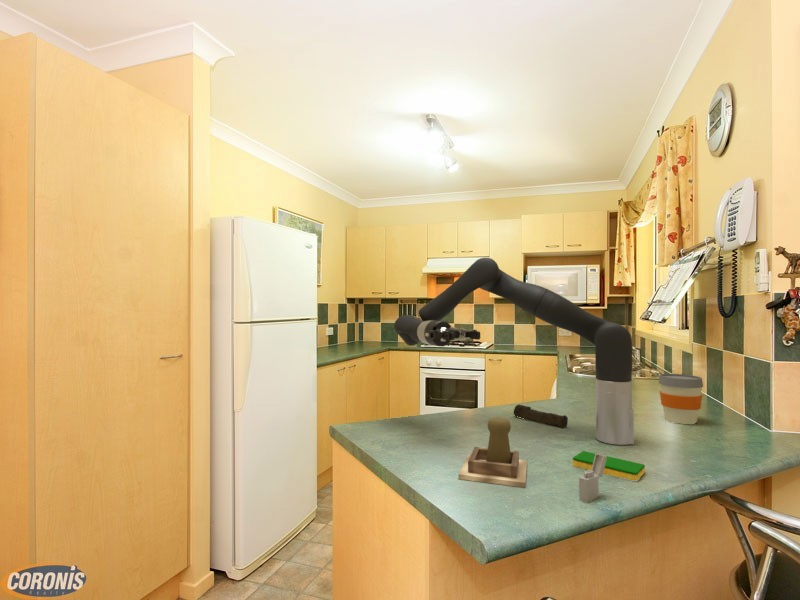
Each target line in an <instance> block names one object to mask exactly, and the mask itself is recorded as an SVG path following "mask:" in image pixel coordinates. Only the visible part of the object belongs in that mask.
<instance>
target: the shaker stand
mask: <svg viewBox="0 0 800 600" xmlns="http://www.w3.org/2000/svg"><path fill="white" fill-rule="evenodd" d="M487 451H488V447H481V446H479V447H478V446H474V447H473V450H472V451H471V454H470V453H468V454H467V456H466V458H465V461H464V462H463V465H462V466H461V469H460V470H459V473H458V480H462V481H464V480H465V481H473V482H479V483H486V484H487V483H488V484H493V485H494V484H496V485H502V486H510V487H517V488H526V482H527V472H528V471H527V469H528V467H527V466H528V460H526V459H520V452H519V451H518V450H510V453H511V460H512V463H511V464H506V463H497V462H489V461H486V459H487Z"/></svg>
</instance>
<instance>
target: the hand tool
mask: <svg viewBox="0 0 800 600" xmlns="http://www.w3.org/2000/svg"><path fill="white" fill-rule="evenodd" d="M514 415H515V416H518V417H521V418H524V419H530V420H531V421H537V422H541V423H545V424H549V425H553V426H555V427H556V426H558V427H560V429H564V428H567V426H568V421H569V417H568V416H567V415H565V414H564V415H561V414H557V413H553V412H544V411H539V410H536V409H533V408H532V407H531V406H527V405H523V404H516V405H515V407H514V409H513V416H514ZM515 416H514V417H515ZM518 417H517V418H518ZM524 419H523V420H524Z"/></svg>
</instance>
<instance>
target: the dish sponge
mask: <svg viewBox="0 0 800 600" xmlns="http://www.w3.org/2000/svg"><path fill="white" fill-rule="evenodd" d="M595 453H596V452H595ZM595 453H594V452H590V451H585V450H583V451H580V452H579V453H577V454H576V455H574V456H573V457H572V467H575V468H578V467H579V469H582V470H586V469H587V470H592V466H593V462H594V458H595ZM605 456H606V457H607V459H606V464H605V468H604V472H603V473H604V474H603V475H606V474H608V475H607V476H610V475H613V476H612V477H614V476H617V477H616V478H618V477H622V478H626V479H630V480H638V479H639V478H640V477H641V476H642V475H643V474H644V473H646V469H645V467H646V465H645V464H643V463H639V462H634V461H631V460H626V459H621V458H617V457H612V456H608V455H605ZM587 470H586V471H587ZM644 475H645V474H644ZM644 475H643V476H644ZM643 476H642V477H643ZM642 477H641V478H642ZM622 478H621V479H622ZM641 478H640V479H641ZM626 479H625V480H626ZM640 479H639V480H640ZM630 480H629V481H630ZM639 480H638V481H639Z"/></svg>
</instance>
